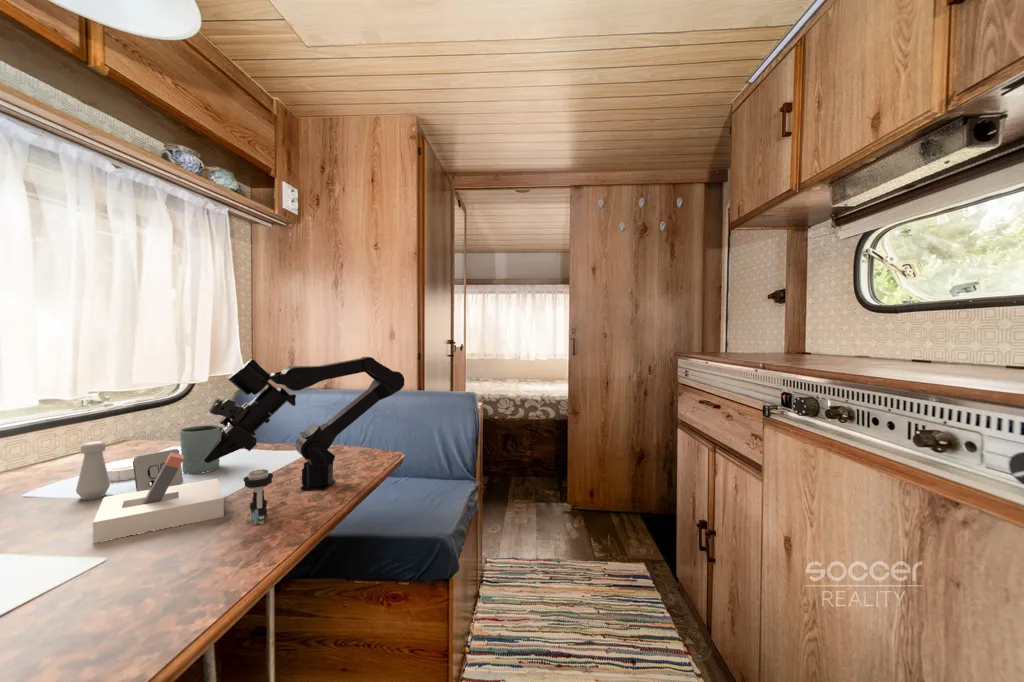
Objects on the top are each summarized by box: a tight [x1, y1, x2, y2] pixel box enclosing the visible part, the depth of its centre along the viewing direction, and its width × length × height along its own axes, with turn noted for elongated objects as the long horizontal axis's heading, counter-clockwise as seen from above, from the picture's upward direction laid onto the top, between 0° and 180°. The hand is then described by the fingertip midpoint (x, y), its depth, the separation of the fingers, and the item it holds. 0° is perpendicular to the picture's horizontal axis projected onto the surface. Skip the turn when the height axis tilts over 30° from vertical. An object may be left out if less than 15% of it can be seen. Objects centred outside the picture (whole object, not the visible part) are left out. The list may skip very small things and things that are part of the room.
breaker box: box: [92, 478, 225, 545], centre depth 91 cm, size 20×16×4 cm
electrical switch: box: [132, 448, 184, 492], centre depth 109 cm, size 9×5×9 cm, turn 152°
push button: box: [243, 469, 274, 525], centre depth 89 cm, size 7×5×10 cm
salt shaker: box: [75, 440, 111, 501], centre depth 102 cm, size 6×6×13 cm
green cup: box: [179, 424, 224, 475], centre depth 124 cm, size 10×10×12 cm
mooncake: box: [105, 458, 135, 482], centre depth 119 cm, size 12×12×4 cm
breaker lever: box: [142, 452, 184, 505], centre depth 91 cm, size 2×4×11 cm, turn 38°
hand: (205, 461), depth 96 cm, fingers closed
